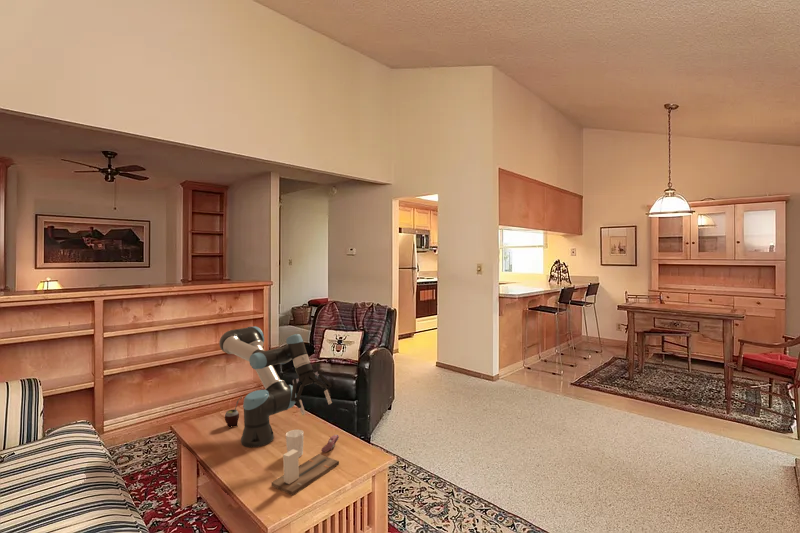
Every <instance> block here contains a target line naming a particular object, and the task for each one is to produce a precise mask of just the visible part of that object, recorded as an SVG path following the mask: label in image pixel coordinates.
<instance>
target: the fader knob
mask: <svg viewBox="0 0 800 533" xmlns="http://www.w3.org/2000/svg"><path fill="white" fill-rule="evenodd" d="M282 458H283V460H282V461H283V475H284V482H285V483H288V484H290V483H292V482H294V481H295V480H297V479H298V478H299V466H300V463H299V457H298V451H297V450H294V449H292V450H291V451H289V452H285V453H284V454H282Z"/></svg>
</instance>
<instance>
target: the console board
mask: <svg viewBox="0 0 800 533" xmlns="http://www.w3.org/2000/svg"><path fill="white" fill-rule="evenodd" d="M339 465H340V461H339V460H337V459H333V458H331V457H329V456H326V455H323V454H321V453H319V454H317V455H314V456H313V457H312V458H310V459H308V460H306V461H305V462H303V463H302V464H299V478H298V479H297V480H295V481H294V482H292V483H290V484H288V483H285V482H284V474H283V475H281V476H280V477H278V478H277V479H275V480H273V481H271V487H273V488H275V489H277V490H279V491H281V492H283V493H286V494H288V495H290V496H292V497H293V496H294V495H296V494H297V493H298V492H300V491H301V490H303V489H304V488H307V487H308V486H309V485H311V484H312V483H314V482H315V481H317V480H318V479H319V478H320V479H321V477H323V476H324V475H326V474H327V473H329V472H330V471H332V470H333V469H335V468H336V467H338V466H339Z"/></svg>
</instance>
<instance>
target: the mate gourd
mask: <svg viewBox="0 0 800 533" xmlns="http://www.w3.org/2000/svg"><path fill="white" fill-rule="evenodd" d="M242 398H243V396H242V395H241V396H240V397H239V398H238V400H237V401H236V404H235V408H234V409H230V410H227V411H226V412H225V414H224V420H225V422H226V426H227V425H228V426H227V427H231V426H237V427H238V426H239V425H238V422H239V420H240V419H239V418H240V413H239V411H238V410H237V406H238V404H239V401H240V400H241V399H242ZM231 428H232V427H231Z"/></svg>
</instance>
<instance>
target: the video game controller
mask: <svg viewBox="0 0 800 533" xmlns="http://www.w3.org/2000/svg"><path fill="white" fill-rule="evenodd" d="M339 438H340V436H339V435H338V434H333V435H332V436H330V437H329V439H328V441H327V443H326V444H325V445H324V446H323V447H322V448H321V453H327V452H329V451H332V450H333V448H335V446H336V443H337V442H338V440H339Z"/></svg>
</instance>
